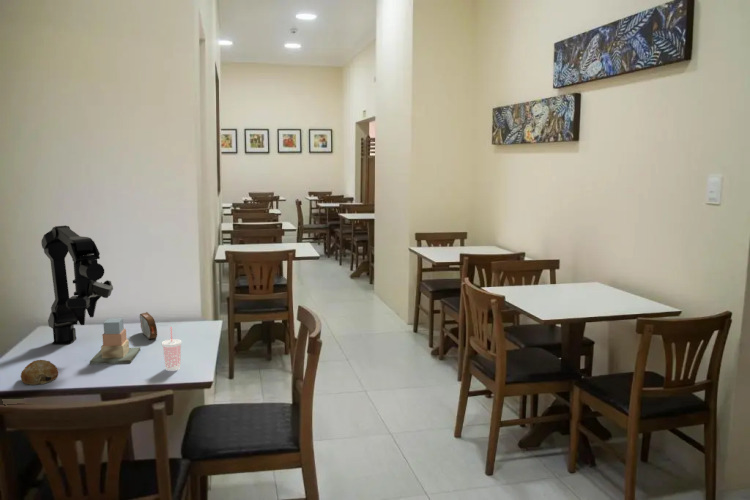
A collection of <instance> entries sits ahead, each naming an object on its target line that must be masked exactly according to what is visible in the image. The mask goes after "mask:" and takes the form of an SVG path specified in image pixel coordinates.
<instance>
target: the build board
mask: <svg viewBox="0 0 750 500" xmlns="http://www.w3.org/2000/svg"><path fill="white" fill-rule="evenodd" d="M140 351H141V347H140V346H139V347H130V342H129V339H127V340H126V341H125V342H124V344H123V345H122V346H103V344H102V345H101V347H100V350H99V351H98V352H97V353H96V354H95V355H94V356H93V357H92V359H91V360H89V365H106V364H107V365H109V364H131V363H133V360H134V359H135V358H136V357H137V355H138V354H139V353H140Z"/></svg>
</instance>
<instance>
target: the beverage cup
mask: <svg viewBox="0 0 750 500" xmlns="http://www.w3.org/2000/svg"><path fill="white" fill-rule="evenodd" d="M169 328H170V329H169V330H170V331H169V332H170V339H166V340H164V341H163V340H162V342H161V345H162V348H163V355H164V356H163V357H164V358H163V359H164V365H165V366H164V367H165V371H167V372H168V371H169V372H175V371H178V370H180V369H181V355H182V354H181V352H182V351H181V348H182V346H181V345H182V340H181V339H178V338H173V328H172V326H170V327H169Z"/></svg>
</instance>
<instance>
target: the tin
mask: <svg viewBox="0 0 750 500" xmlns="http://www.w3.org/2000/svg"><path fill="white" fill-rule="evenodd" d="M139 320H140V321H139V322H140V328H141V331H142V334H143V335H144V336H145V337H146V338H147V339H148V340H153V339H157V338H158V328H157V323H156V320H155V318H154V317H153V315H151V314H150V313H149V312H148V311H146V312H143V313H140V314H139Z"/></svg>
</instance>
